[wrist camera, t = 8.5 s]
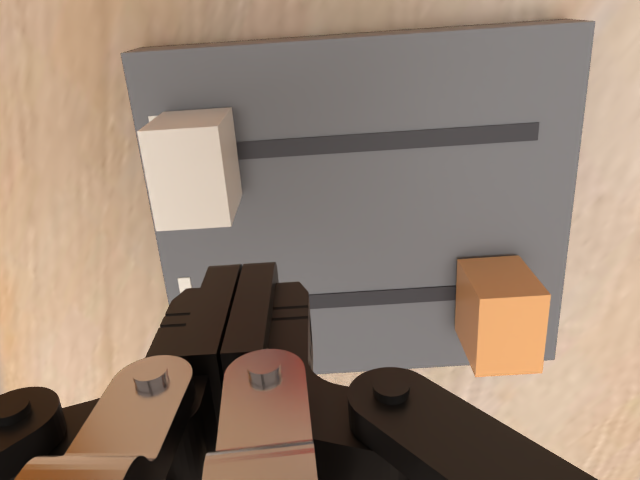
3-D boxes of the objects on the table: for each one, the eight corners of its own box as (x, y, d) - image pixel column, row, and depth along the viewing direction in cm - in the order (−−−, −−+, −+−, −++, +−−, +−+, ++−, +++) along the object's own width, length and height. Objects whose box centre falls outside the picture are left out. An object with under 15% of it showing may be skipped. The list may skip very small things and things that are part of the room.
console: (140, 47, 27) (119, 53, 24) (565, 18, 26) (596, 21, 24) (194, 350, 33) (183, 383, 30) (533, 329, 33) (555, 360, 30)
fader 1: (163, 111, 25) (137, 131, 21) (231, 107, 25) (217, 126, 21) (177, 198, 26) (155, 231, 22) (242, 194, 26) (231, 226, 22)
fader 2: (457, 259, 28) (479, 299, 24) (518, 255, 28) (550, 294, 24) (454, 329, 29) (475, 377, 25) (512, 325, 29) (542, 373, 25)
